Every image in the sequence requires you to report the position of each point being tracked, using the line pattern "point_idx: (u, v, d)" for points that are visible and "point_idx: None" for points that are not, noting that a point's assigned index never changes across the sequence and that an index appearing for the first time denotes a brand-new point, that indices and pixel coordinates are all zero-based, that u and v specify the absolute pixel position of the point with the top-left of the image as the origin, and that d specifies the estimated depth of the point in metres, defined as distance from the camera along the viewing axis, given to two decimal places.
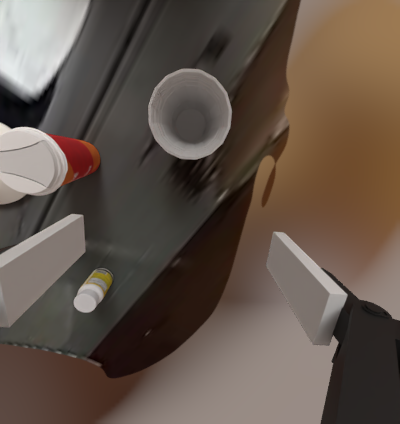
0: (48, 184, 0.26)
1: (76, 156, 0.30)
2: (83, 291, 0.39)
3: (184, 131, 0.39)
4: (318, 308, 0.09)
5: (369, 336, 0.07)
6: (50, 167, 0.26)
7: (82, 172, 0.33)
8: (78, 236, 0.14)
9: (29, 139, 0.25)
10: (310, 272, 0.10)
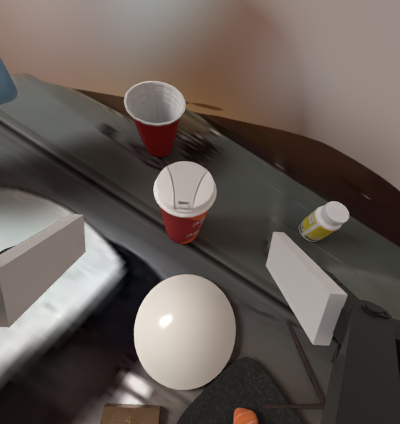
0: (205, 169, 0.28)
1: None
2: (323, 215, 0.36)
3: None
4: (318, 308, 0.09)
5: (369, 336, 0.07)
6: (190, 164, 0.28)
7: None
8: (78, 236, 0.14)
9: (164, 173, 0.27)
10: (310, 272, 0.10)
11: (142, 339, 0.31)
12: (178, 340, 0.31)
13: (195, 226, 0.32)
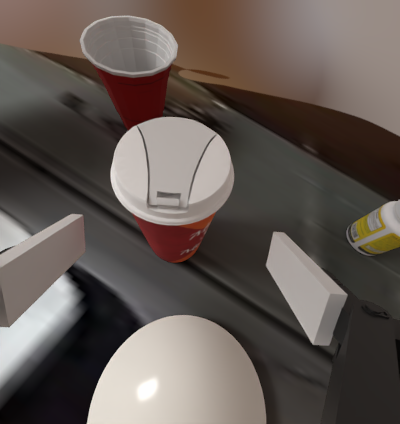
0: (211, 131, 0.15)
1: None
2: None
3: None
4: (318, 308, 0.09)
5: (369, 336, 0.07)
6: (182, 122, 0.15)
7: None
8: (78, 236, 0.14)
9: (132, 138, 0.14)
10: (310, 272, 0.10)
11: None
12: None
13: (194, 238, 0.18)
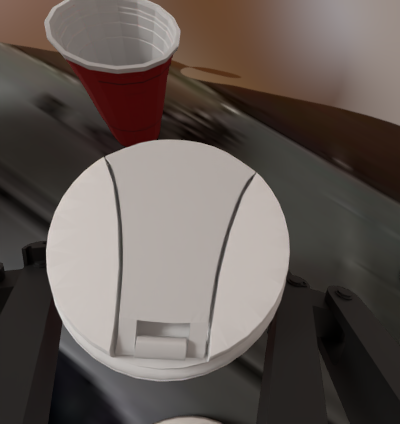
0: (245, 167, 0.08)
1: None
2: None
3: None
4: None
5: (293, 305, 0.08)
6: (191, 149, 0.08)
7: None
8: None
9: (92, 185, 0.07)
10: None
11: None
12: None
13: None
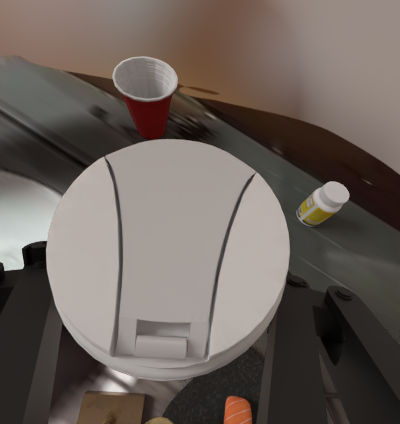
0: (245, 166, 0.08)
1: None
2: (322, 195, 0.34)
3: None
4: None
5: (293, 305, 0.08)
6: (192, 149, 0.08)
7: None
8: None
9: (92, 184, 0.07)
10: None
11: None
12: None
13: None
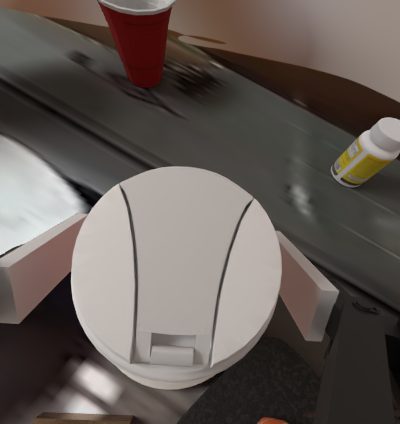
0: (244, 192, 0.09)
1: None
2: (375, 135, 0.25)
3: None
4: (311, 305, 0.10)
5: (360, 332, 0.07)
6: (196, 176, 0.09)
7: None
8: None
9: (109, 210, 0.08)
10: (303, 269, 0.10)
11: None
12: None
13: None
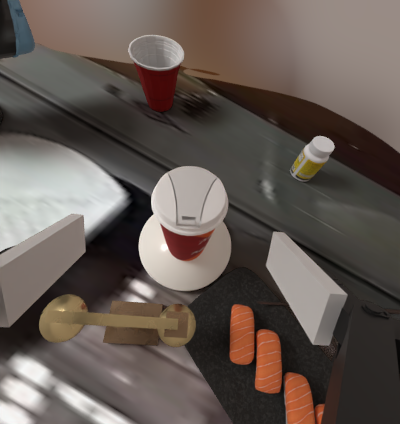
0: (214, 175, 0.23)
1: None
2: (311, 147, 0.39)
3: None
4: (318, 308, 0.09)
5: (369, 336, 0.07)
6: (195, 169, 0.23)
7: None
8: (78, 236, 0.14)
9: (165, 181, 0.22)
10: (310, 272, 0.10)
11: (146, 251, 0.34)
12: None
13: (202, 243, 0.26)
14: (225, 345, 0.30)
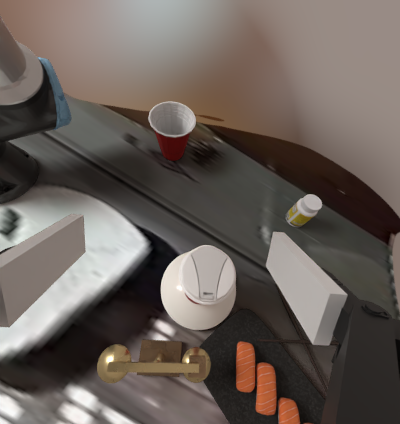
0: (225, 255, 0.31)
1: None
2: (302, 204, 0.47)
3: None
4: (318, 308, 0.09)
5: (369, 336, 0.07)
6: (211, 250, 0.31)
7: None
8: (78, 236, 0.14)
9: (189, 262, 0.30)
10: (310, 272, 0.10)
11: (167, 296, 0.42)
12: None
13: None
14: (232, 375, 0.37)
